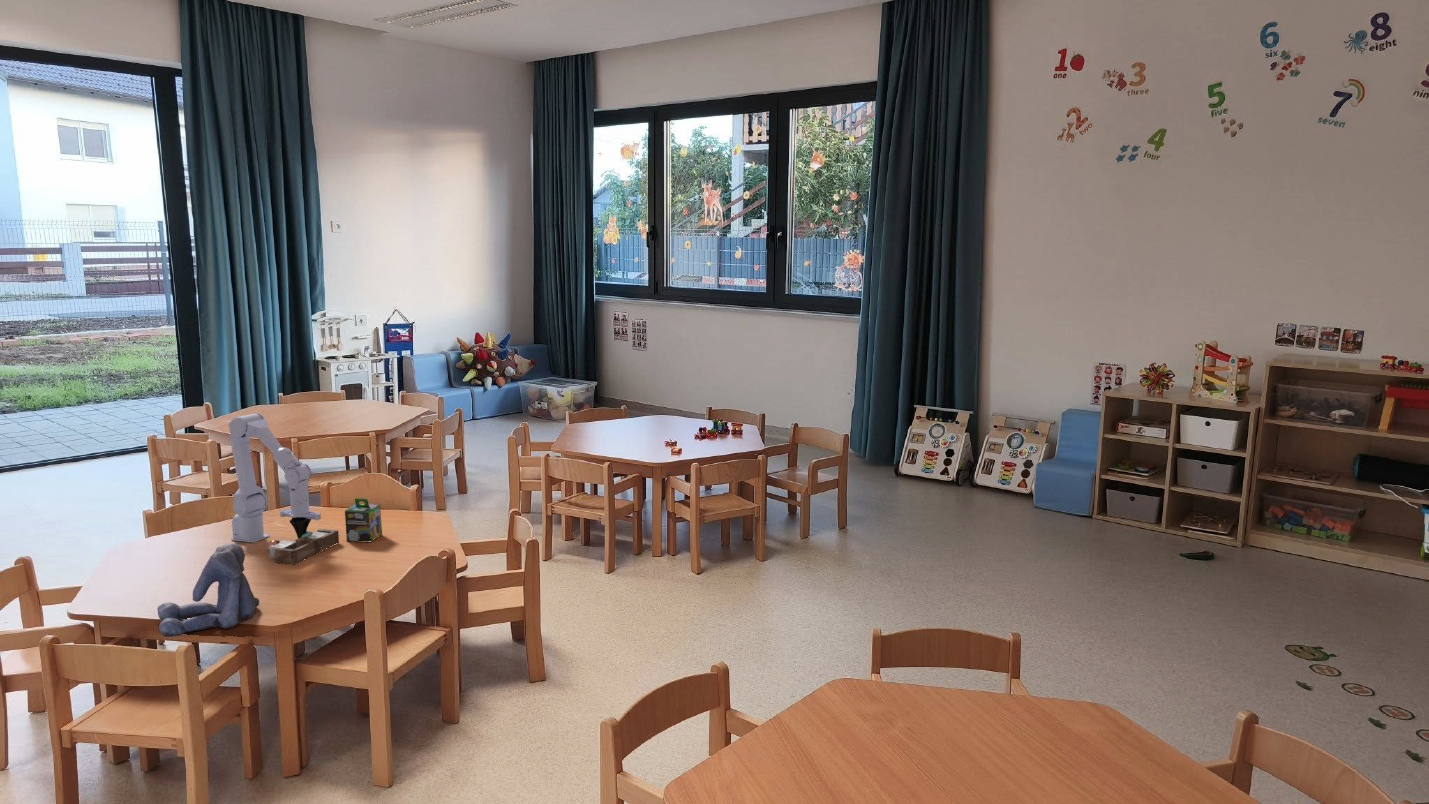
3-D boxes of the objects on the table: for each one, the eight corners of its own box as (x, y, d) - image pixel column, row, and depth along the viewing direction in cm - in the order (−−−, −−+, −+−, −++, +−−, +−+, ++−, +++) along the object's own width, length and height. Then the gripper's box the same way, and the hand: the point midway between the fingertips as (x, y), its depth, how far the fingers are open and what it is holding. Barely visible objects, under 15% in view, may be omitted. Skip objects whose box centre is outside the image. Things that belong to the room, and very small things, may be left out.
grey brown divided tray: (275, 562, 298) (274, 549, 297) (320, 541, 320) (320, 528, 319) (294, 565, 297) (293, 551, 296) (338, 543, 318) (338, 530, 318)
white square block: (265, 557, 302) (264, 543, 301) (279, 550, 308) (278, 537, 307) (283, 559, 300) (282, 545, 299) (297, 552, 307) (296, 539, 306)
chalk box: (382, 535, 329) (381, 494, 326) (370, 543, 320) (369, 502, 317) (358, 533, 330) (356, 493, 327) (345, 541, 321) (343, 500, 318)
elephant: (160, 612, 257) (154, 541, 254) (260, 599, 268) (255, 531, 265) (152, 641, 239) (145, 565, 236) (259, 626, 250) (254, 553, 246)
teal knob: (298, 547, 312) (298, 534, 311) (311, 541, 318) (311, 528, 317) (316, 549, 310) (316, 536, 309) (329, 543, 316) (329, 530, 316)
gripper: (272, 501, 310) (275, 539, 313) (310, 504, 307) (312, 543, 309) (287, 495, 317) (289, 533, 319) (323, 499, 314) (325, 537, 316)
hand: (301, 538), depth 315 cm, fingers closed
